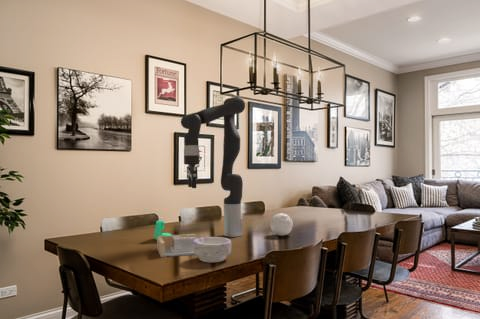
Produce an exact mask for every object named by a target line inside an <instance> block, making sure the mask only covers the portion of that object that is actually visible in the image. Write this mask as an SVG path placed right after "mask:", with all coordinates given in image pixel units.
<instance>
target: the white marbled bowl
mask: <svg viewBox="0 0 480 319" xmlns="http://www.w3.org/2000/svg"><path fill="white" fill-rule="evenodd" d="M193 244H194V245H193V246H194V247H193V249H194V255H196V256H198V259H199V261H202V262H204V263H214V264H215V263H220V262H224V260H226V258H227V256H228V255H230V254H231V253H232V240H231V239H229V238H226V237H222V236H206V237H200V238H199V237H197V239H195V240H194V242H193Z"/></svg>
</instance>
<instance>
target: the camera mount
mask: <svg viewBox="0 0 480 319" xmlns="http://www.w3.org/2000/svg"><path fill="white" fill-rule="evenodd" d="M164 229H165V221H164V219H161V220H155V227H154V232H153V234H154V235H153V237H154V239H155V241H156V240H157V236H168V235H172V234H171V233H170V232H163V233H162V230H164Z"/></svg>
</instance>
